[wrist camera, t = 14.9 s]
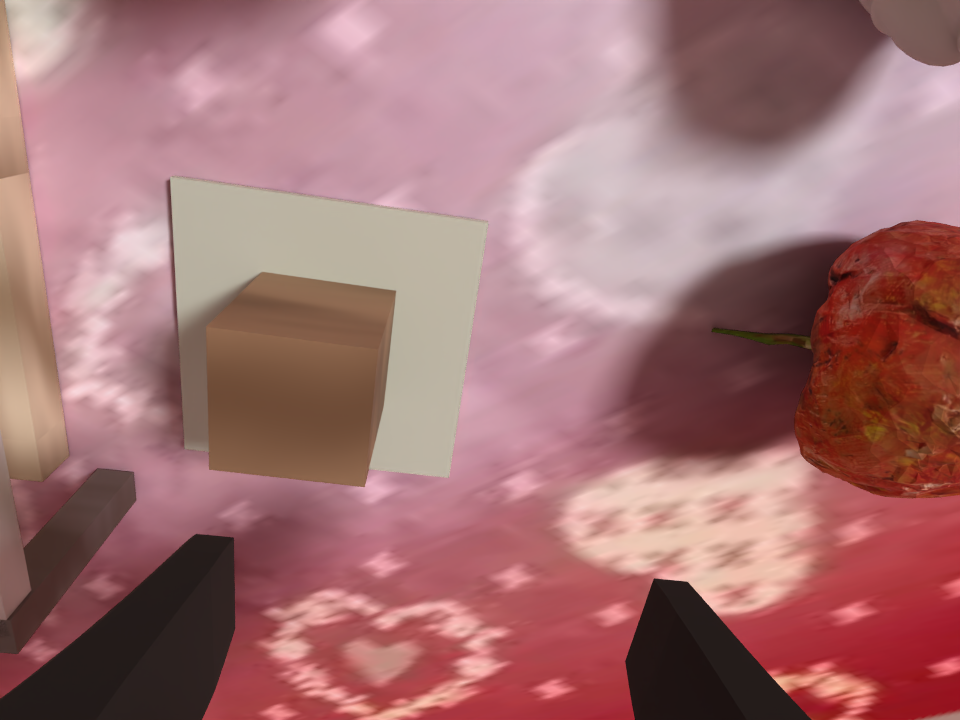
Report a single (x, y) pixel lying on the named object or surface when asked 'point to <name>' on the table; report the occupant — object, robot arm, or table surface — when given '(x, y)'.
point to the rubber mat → (344, 259)
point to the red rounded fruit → (886, 365)
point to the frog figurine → (920, 27)
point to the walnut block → (298, 379)
